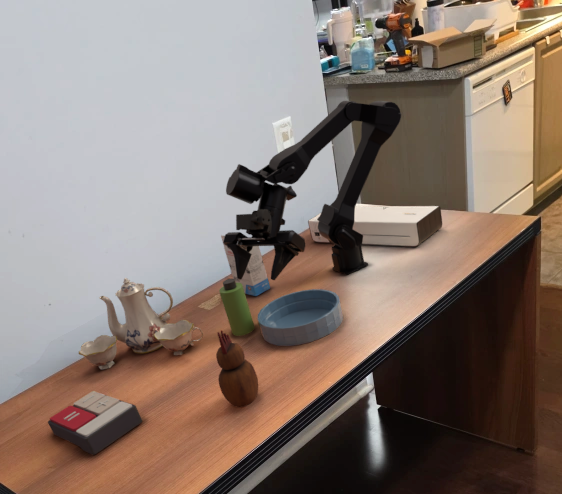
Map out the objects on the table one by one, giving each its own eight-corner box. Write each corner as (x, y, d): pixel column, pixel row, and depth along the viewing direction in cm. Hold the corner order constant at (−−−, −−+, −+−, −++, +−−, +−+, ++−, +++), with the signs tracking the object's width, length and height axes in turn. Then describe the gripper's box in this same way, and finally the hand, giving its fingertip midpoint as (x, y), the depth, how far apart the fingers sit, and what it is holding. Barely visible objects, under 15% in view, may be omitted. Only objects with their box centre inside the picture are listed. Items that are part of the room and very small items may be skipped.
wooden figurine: (247, 414, 112) (222, 338, 104) (221, 410, 115) (195, 336, 108) (268, 392, 116) (246, 318, 109) (242, 389, 120) (219, 316, 112)
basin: (315, 301, 145) (311, 282, 143) (360, 321, 131) (356, 301, 129) (249, 332, 140) (243, 313, 138) (288, 357, 126) (282, 336, 124)
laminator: (443, 229, 163) (440, 205, 160) (418, 249, 156) (414, 224, 153) (336, 226, 186) (331, 205, 182) (310, 244, 179) (305, 222, 175)
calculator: (93, 388, 127) (134, 401, 116) (102, 406, 129) (143, 421, 118) (44, 418, 121) (83, 435, 110) (54, 437, 123) (93, 455, 112)
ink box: (271, 288, 158) (256, 230, 150) (256, 297, 156) (239, 238, 148) (251, 283, 164) (235, 227, 157) (235, 291, 162) (219, 235, 155)
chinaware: (82, 387, 140) (48, 323, 130) (96, 345, 153) (66, 284, 144) (207, 359, 137) (182, 291, 127) (210, 319, 151) (187, 254, 141)
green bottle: (249, 324, 143) (234, 274, 137) (259, 330, 139) (244, 279, 133) (229, 333, 142) (213, 283, 136) (238, 339, 138) (222, 288, 132)
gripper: (215, 197, 142) (199, 266, 140) (285, 192, 131) (269, 266, 129) (245, 218, 151) (231, 283, 149) (313, 215, 140) (298, 284, 138)
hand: (255, 279), depth 141 cm, fingers open, 9 cm apart
